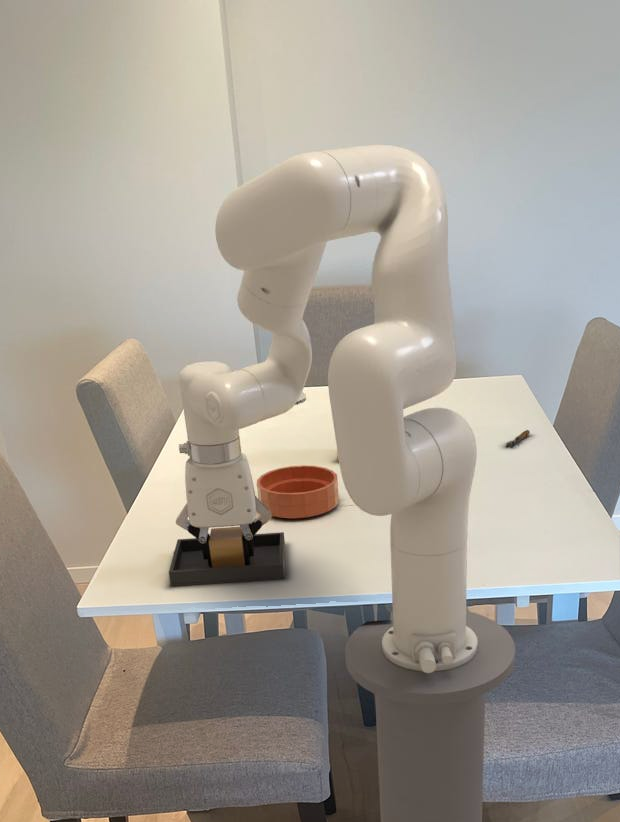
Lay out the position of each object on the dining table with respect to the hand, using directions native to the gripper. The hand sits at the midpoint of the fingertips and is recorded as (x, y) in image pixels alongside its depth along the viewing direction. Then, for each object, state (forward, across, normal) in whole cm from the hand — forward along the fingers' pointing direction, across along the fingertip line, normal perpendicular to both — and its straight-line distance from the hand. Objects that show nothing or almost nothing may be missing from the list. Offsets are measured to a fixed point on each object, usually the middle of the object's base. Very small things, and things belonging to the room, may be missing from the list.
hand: (229, 560), depth 145 cm
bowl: (+1, +11, +23) cm, 26 cm away
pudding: (+1, +7, +92) cm, 92 cm away
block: (0, 0, 0) cm, 0 cm away
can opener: (+1, +56, +50) cm, 75 cm away
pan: (+1, 0, 0) cm, 1 cm away
